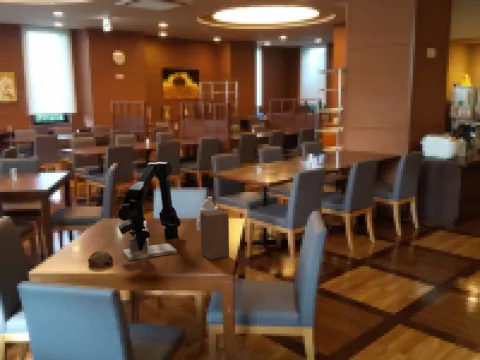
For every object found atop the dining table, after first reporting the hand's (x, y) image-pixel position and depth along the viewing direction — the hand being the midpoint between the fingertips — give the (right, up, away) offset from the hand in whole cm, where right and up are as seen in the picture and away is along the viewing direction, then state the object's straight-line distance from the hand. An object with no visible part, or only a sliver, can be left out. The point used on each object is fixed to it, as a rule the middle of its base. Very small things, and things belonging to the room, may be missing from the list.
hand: (138, 249), depth 217 cm
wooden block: (+35, -3, -3) cm, 35 cm away
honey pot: (+29, +4, +43) cm, 52 cm away
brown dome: (-14, -5, -13) cm, 20 cm away
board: (+4, -2, +2) cm, 5 cm away
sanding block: (0, -1, 0) cm, 1 cm away
